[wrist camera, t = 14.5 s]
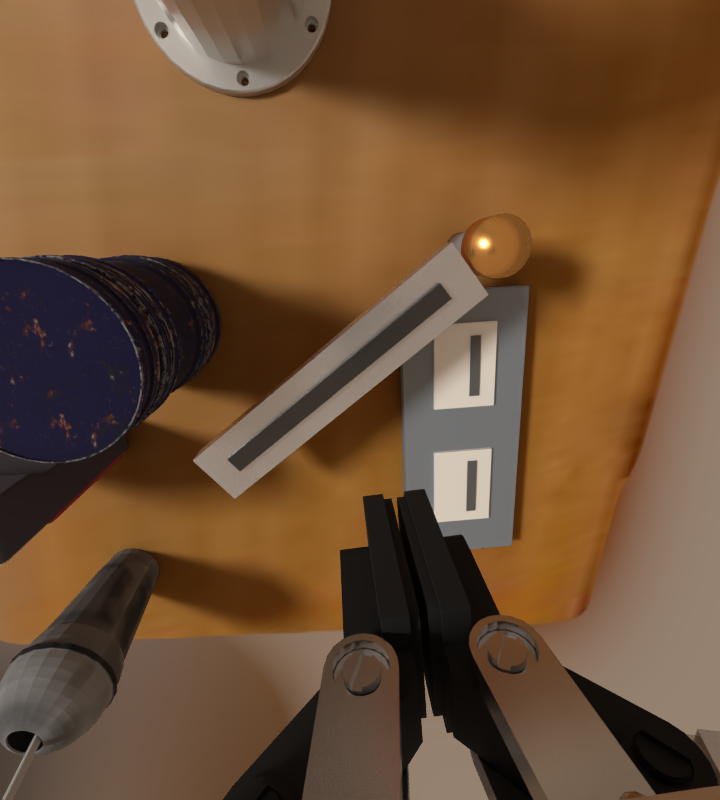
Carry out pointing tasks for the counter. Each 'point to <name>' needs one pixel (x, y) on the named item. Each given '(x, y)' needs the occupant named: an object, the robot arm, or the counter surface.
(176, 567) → the counter surface
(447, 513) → the label board
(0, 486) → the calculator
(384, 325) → the swing arm
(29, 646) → the beverage cup
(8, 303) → the blue oil drum
